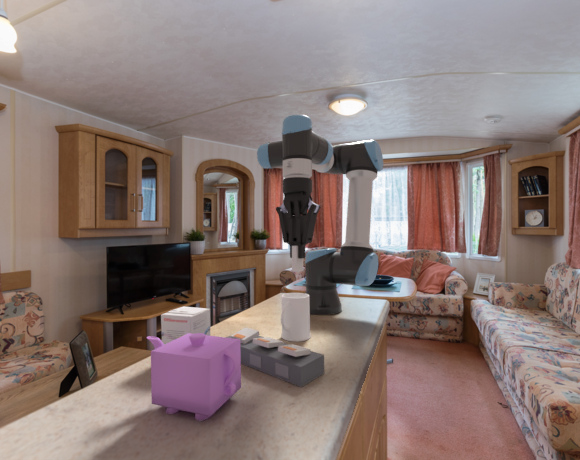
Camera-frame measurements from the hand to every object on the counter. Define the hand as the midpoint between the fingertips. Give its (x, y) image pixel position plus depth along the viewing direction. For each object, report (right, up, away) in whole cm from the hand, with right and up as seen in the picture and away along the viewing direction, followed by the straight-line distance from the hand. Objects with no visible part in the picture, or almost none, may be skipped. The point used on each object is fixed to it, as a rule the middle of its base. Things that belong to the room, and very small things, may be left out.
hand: (297, 271), depth 84 cm
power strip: (-9, -21, -5) cm, 23 cm away
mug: (-1, -21, +11) cm, 23 cm away
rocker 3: (-1, -16, -12) cm, 20 cm away
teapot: (-20, -21, -23) cm, 37 cm away
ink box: (-27, -21, -3) cm, 35 cm away
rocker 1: (-13, -16, -2) cm, 20 cm away
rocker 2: (-7, -16, -7) cm, 19 cm away
